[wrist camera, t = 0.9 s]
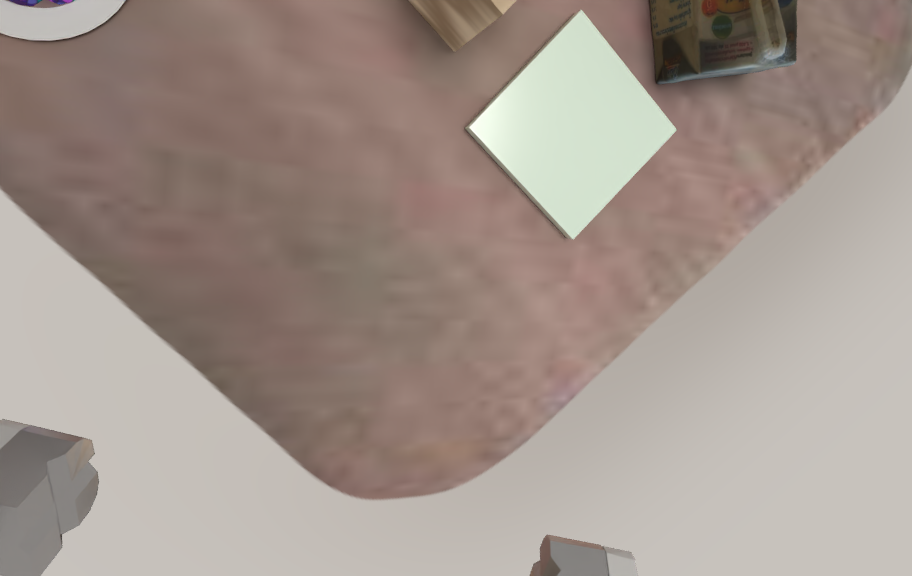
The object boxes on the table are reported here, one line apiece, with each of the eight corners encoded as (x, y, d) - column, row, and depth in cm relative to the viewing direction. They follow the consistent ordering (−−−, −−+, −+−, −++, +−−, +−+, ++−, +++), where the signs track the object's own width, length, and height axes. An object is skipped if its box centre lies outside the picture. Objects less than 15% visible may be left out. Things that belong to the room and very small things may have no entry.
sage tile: (464, 128, 43) (469, 127, 42) (574, 13, 43) (581, 9, 42) (566, 237, 46) (573, 239, 45) (667, 130, 46) (676, 129, 45)
